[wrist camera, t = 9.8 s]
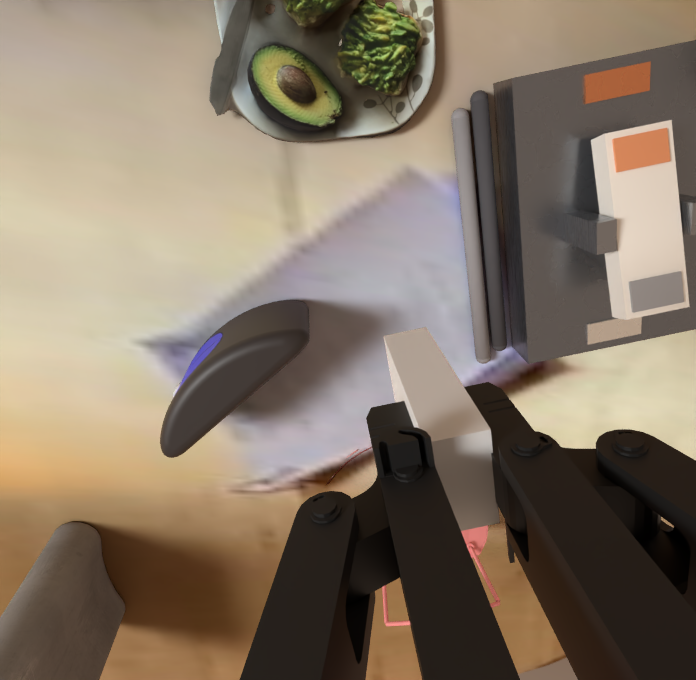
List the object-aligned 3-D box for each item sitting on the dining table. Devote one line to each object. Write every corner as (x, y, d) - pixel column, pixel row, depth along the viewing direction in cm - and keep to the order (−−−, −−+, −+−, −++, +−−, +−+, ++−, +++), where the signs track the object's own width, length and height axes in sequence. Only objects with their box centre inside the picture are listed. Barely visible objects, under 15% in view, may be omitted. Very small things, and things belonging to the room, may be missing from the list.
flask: (40, 524, 54) (-98, 725, 36) (95, 517, 54) (-13, 713, 36) (81, 623, 60) (-19, 841, 41) (130, 616, 60) (53, 830, 42)
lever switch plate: (493, 83, 42) (541, 69, 33) (684, 43, 42) (782, 20, 33) (512, 347, 51) (554, 389, 42) (668, 314, 51) (742, 350, 42)
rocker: (590, 140, 39) (606, 133, 37) (654, 126, 39) (673, 119, 37) (612, 317, 41) (627, 320, 39) (672, 304, 41) (691, 307, 39)
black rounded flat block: (278, 272, 46) (272, 304, 37) (313, 307, 48) (314, 345, 39) (157, 382, 49) (126, 435, 40) (193, 412, 51) (170, 469, 42)
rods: (447, 97, 42) (451, 95, 40) (710, 42, 42) (723, 39, 40) (474, 361, 51) (479, 367, 50) (690, 316, 51) (700, 321, 50)
